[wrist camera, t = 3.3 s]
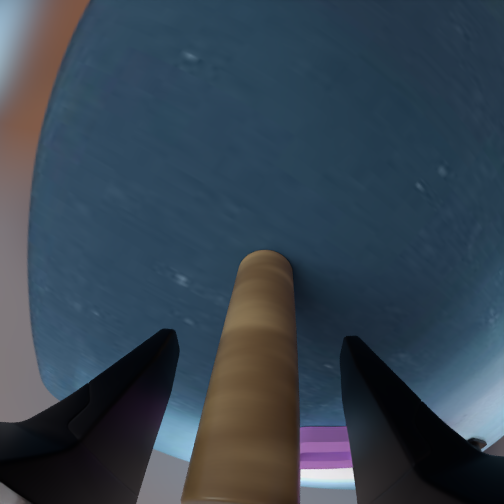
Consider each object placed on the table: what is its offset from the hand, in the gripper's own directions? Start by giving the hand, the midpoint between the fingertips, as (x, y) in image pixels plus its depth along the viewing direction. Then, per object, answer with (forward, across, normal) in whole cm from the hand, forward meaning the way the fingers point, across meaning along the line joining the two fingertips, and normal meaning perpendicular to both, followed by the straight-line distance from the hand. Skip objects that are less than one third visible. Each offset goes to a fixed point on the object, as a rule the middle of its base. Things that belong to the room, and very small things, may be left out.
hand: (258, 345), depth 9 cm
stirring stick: (+4, 0, 0) cm, 4 cm away
